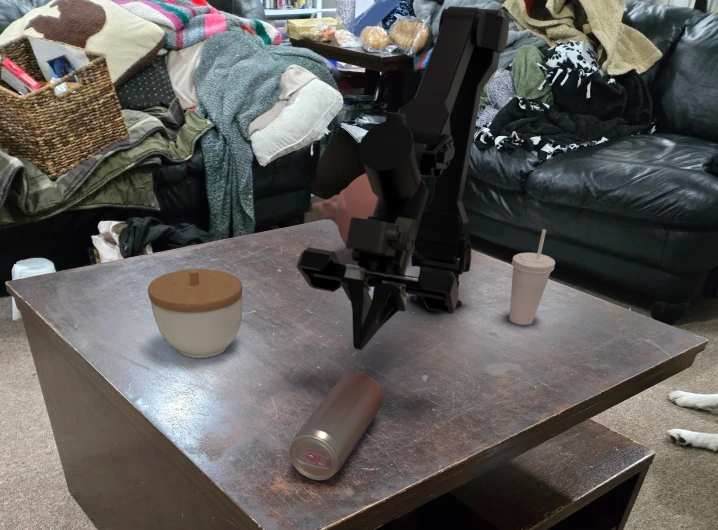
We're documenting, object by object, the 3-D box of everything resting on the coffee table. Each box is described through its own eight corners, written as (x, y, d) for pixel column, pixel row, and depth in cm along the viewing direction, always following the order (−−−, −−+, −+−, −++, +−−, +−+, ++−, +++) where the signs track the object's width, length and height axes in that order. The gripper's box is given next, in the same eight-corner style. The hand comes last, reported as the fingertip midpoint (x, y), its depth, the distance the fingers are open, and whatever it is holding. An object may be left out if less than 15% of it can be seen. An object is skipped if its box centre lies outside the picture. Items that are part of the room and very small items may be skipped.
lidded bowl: (212, 320, 99) (205, 248, 92) (264, 348, 93) (259, 273, 86) (141, 345, 92) (126, 269, 85) (191, 377, 86) (179, 297, 79)
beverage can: (380, 419, 79) (336, 488, 69) (336, 406, 81) (286, 472, 70) (387, 377, 75) (341, 444, 65) (341, 364, 77) (288, 427, 66)
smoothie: (545, 329, 100) (567, 237, 91) (504, 328, 100) (523, 236, 91) (536, 312, 105) (556, 223, 96) (497, 311, 105) (514, 222, 96)
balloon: (314, 244, 128) (314, 159, 118) (414, 247, 128) (422, 163, 118) (309, 272, 116) (308, 180, 106) (418, 276, 116) (428, 184, 106)
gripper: (302, 172, 70) (261, 305, 69) (467, 194, 65) (425, 338, 64) (329, 227, 81) (293, 342, 80) (473, 249, 76) (436, 373, 75)
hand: (357, 348), depth 75 cm, fingers closed
